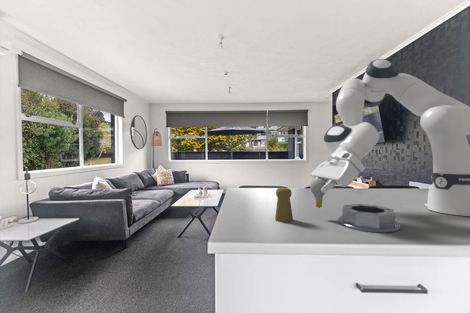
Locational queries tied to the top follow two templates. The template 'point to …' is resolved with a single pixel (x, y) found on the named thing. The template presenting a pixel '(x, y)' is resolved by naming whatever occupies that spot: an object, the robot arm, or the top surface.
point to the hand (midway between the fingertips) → (316, 190)
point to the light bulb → (317, 191)
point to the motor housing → (369, 218)
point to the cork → (283, 205)
